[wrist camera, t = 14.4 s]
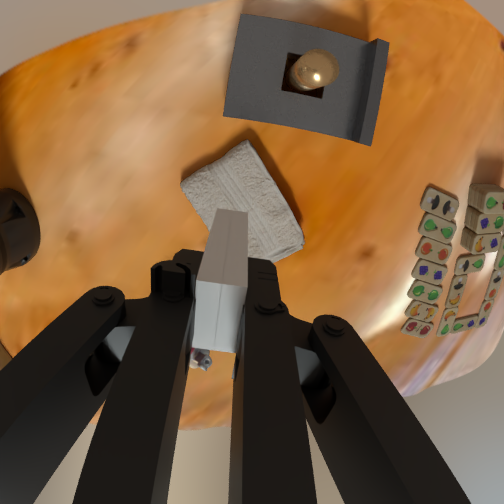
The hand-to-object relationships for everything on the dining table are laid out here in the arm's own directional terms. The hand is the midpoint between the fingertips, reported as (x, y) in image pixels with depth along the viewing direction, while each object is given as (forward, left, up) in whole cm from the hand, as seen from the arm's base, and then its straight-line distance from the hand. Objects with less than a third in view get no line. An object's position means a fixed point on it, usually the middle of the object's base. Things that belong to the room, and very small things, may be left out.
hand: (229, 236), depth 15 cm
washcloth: (+2, -8, -29) cm, 30 cm away
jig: (+6, +12, -28) cm, 31 cm away
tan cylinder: (+6, +12, -28) cm, 31 cm away
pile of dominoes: (+46, -12, -29) cm, 56 cm away
